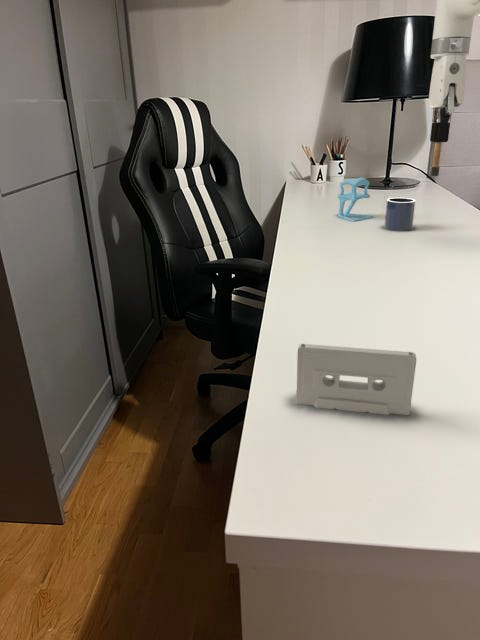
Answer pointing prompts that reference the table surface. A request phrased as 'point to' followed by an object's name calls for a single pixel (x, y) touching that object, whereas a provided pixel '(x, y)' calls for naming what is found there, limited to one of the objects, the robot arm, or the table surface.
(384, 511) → the table surface
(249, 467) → the table surface
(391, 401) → the cassette
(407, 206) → the pencil cup
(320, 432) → the table surface
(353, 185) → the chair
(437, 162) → the brush
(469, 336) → the table surface
